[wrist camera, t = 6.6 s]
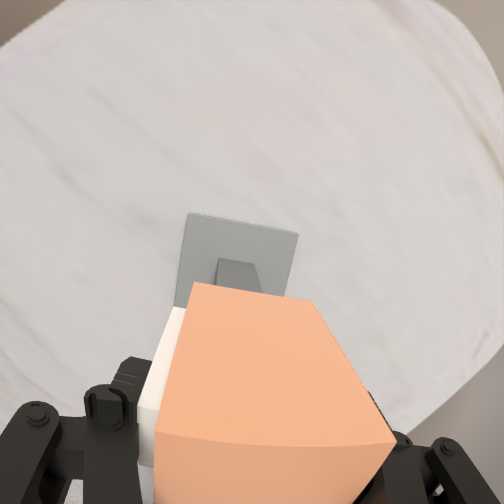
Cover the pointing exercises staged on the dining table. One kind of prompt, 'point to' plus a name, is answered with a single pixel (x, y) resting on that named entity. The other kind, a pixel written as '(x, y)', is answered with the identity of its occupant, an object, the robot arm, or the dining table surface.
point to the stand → (233, 257)
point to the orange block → (263, 407)
